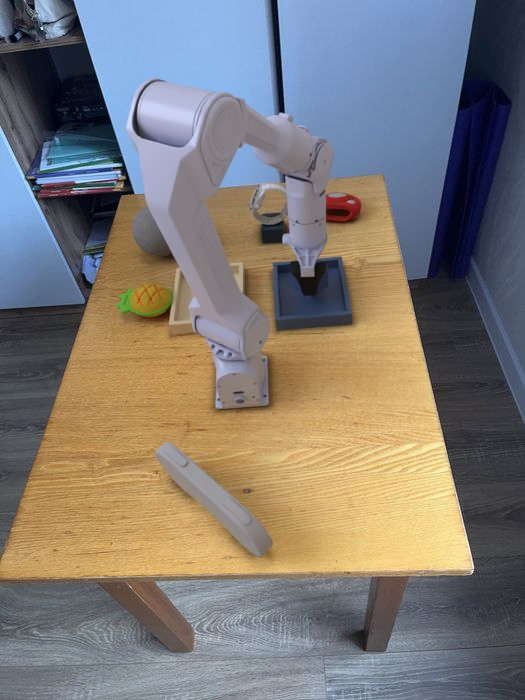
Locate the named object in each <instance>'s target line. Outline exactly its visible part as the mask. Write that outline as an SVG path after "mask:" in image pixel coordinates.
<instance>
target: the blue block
mask: <svg viewBox="0 0 525 700" xmlns="http://www.w3.org/2000/svg"><path fill="white" fill-rule="evenodd" d="M316 263H320V262H318V261H317V262H316ZM291 275H292V274H291ZM292 287H293V289H294V290H296V291H297V292H299V293H301V294H302V295H303V293H302V291H301V288H300V285H299V283H298V281H297V279H296V278H295V277H294V276H293V275H292ZM327 287H328V267H327V266H326V271H325V274H324V275H323V276H322V277H321V279H320V281H319V285H318V290H317V293H316V295H315V296H306V297H307V298H309V299H311V300H312V299H313V298H314V297H316V296H317V295H318V294H319V293H321V292H322V291H323V290H324V289H325V288H327Z"/></svg>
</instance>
